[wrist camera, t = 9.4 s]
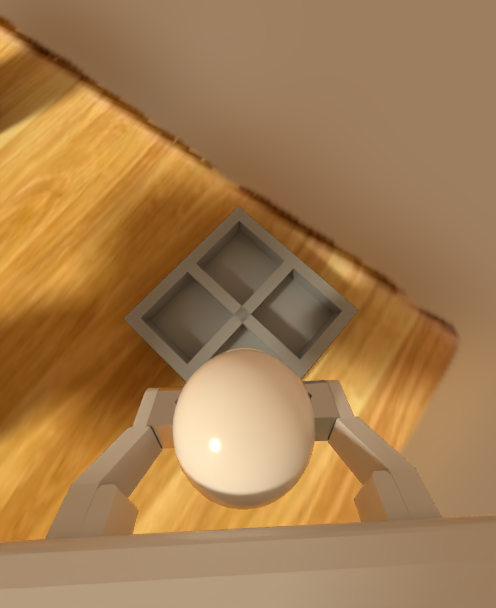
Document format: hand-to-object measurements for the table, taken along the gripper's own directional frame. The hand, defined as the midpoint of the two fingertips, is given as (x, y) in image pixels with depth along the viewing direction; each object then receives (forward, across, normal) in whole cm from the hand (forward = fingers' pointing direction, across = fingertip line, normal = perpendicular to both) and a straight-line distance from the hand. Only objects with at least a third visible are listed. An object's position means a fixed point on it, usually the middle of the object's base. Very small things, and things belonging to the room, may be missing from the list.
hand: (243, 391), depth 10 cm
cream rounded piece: (+3, 0, +4) cm, 5 cm away
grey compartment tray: (+15, 0, +8) cm, 17 cm away
